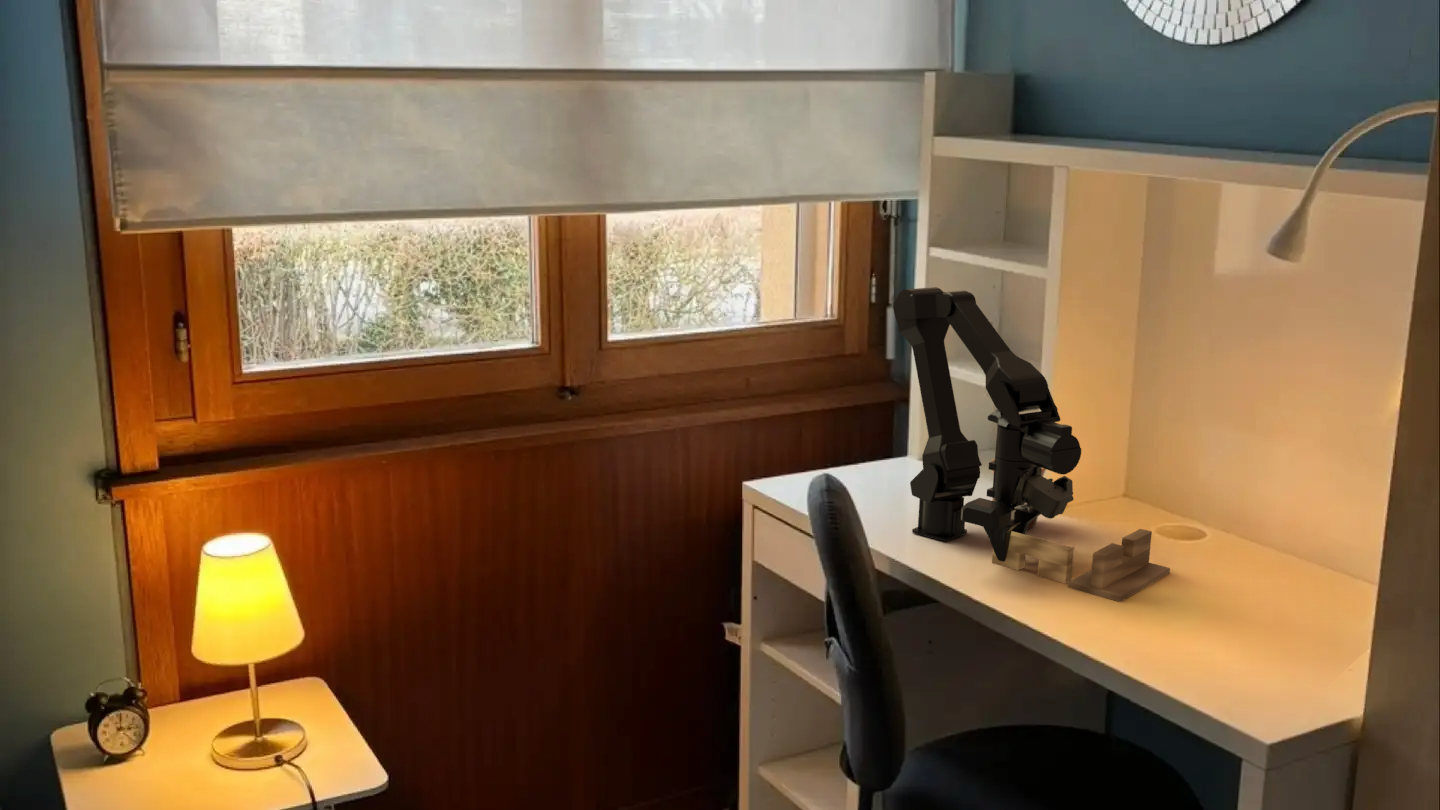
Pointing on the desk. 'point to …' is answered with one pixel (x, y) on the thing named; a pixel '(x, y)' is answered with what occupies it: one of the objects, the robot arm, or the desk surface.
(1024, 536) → the oak plate
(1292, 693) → the desk surface
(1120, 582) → the joint base
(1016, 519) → the robot arm
